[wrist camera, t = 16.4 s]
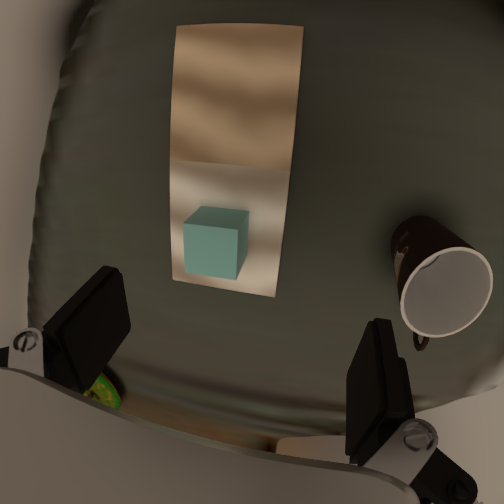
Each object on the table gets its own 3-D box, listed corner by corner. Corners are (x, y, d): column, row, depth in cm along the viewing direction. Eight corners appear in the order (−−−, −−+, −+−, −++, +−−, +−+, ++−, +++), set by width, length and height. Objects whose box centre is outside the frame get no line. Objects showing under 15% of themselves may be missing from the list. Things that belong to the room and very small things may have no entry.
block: (200, 205, 33) (182, 223, 28) (249, 211, 32) (238, 229, 28) (201, 249, 35) (185, 272, 30) (246, 256, 34) (236, 280, 30)
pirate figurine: (59, 351, 52) (16, 403, 39) (98, 345, 48) (50, 409, 35) (99, 400, 57) (66, 453, 43) (141, 401, 53) (108, 464, 39)
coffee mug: (409, 189, 29) (444, 226, 20) (467, 231, 29) (509, 277, 20) (350, 279, 34) (358, 339, 25) (408, 310, 35) (427, 370, 26)
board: (180, 27, 26) (176, 26, 25) (303, 29, 24) (303, 26, 23) (176, 275, 38) (172, 279, 37) (275, 292, 37) (274, 297, 36)
